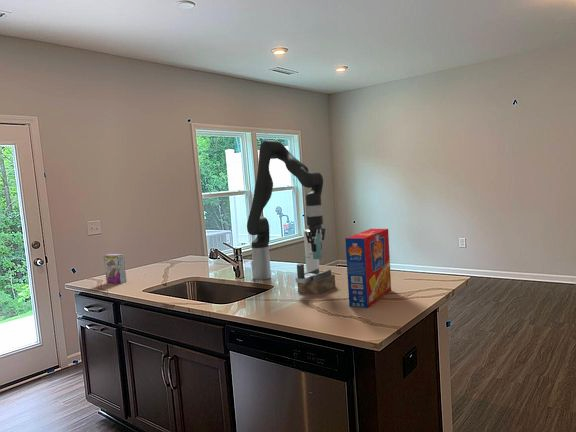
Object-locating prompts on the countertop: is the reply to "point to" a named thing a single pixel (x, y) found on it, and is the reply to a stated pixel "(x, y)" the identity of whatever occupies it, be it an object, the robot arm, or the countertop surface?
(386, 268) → the pasta box
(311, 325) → the countertop surface
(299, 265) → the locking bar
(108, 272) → the candy bar box
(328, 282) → the socket block
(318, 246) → the teal peg
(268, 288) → the countertop surface
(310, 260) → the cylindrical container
